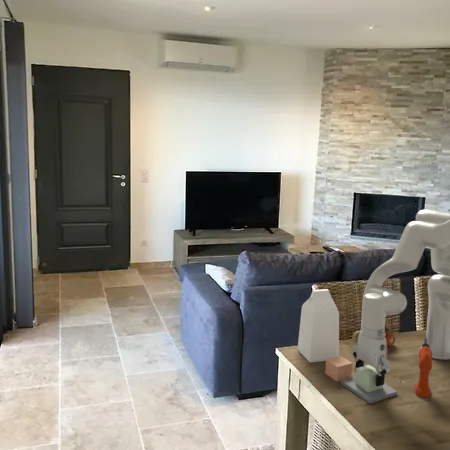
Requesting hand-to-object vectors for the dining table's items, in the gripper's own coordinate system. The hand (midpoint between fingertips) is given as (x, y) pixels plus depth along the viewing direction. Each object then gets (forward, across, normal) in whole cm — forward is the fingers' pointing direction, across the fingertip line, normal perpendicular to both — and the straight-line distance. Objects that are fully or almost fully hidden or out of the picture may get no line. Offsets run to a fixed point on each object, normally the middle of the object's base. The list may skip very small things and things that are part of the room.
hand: (369, 378), depth 167 cm
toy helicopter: (+4, +25, -26) cm, 36 cm away
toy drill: (+4, -6, -18) cm, 20 cm away
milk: (+4, +29, -1) cm, 29 cm away
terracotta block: (+4, +12, +3) cm, 13 cm away
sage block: (+3, 0, 0) cm, 3 cm away
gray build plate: (+4, 0, 0) cm, 4 cm away
